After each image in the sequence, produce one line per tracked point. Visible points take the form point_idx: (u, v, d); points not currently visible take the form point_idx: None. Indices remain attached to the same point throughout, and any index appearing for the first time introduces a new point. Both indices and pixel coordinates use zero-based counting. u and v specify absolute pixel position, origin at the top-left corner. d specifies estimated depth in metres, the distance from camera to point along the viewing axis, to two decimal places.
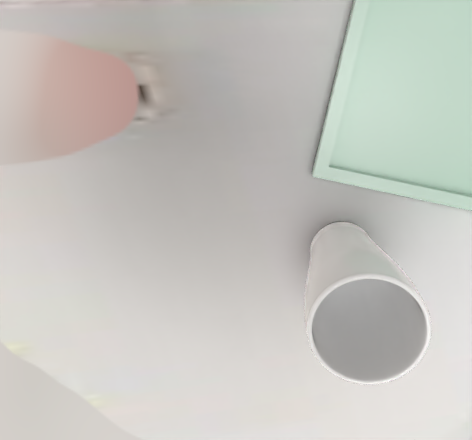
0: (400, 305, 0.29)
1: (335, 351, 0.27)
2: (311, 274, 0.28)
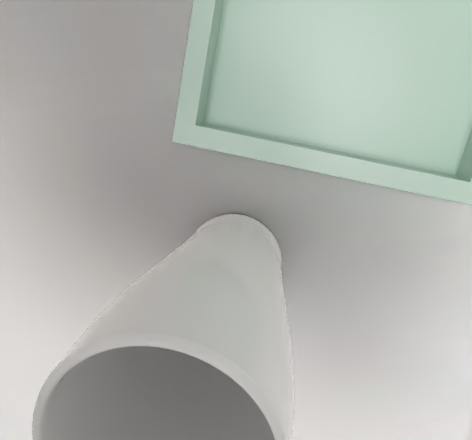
0: None
1: None
2: None
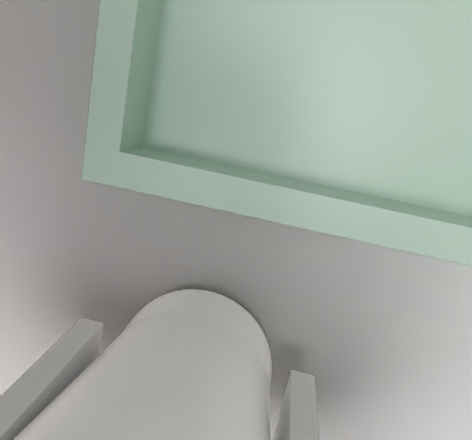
0: None
1: None
2: None
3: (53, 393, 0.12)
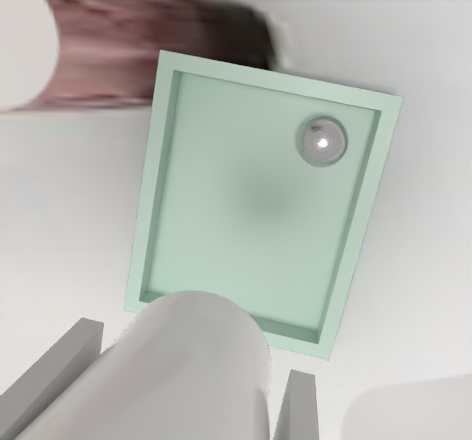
0: None
1: None
2: None
3: (53, 393, 0.12)
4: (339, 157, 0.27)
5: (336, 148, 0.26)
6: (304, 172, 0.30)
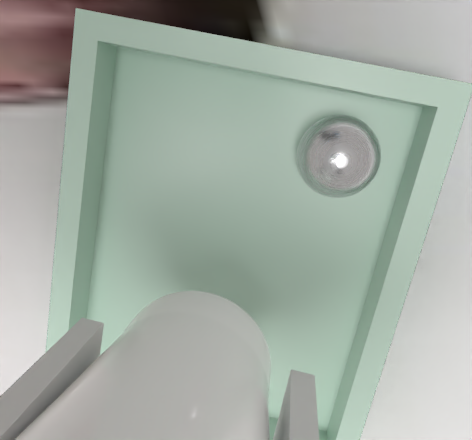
0: None
1: None
2: None
3: (53, 393, 0.12)
4: (366, 183, 0.16)
5: (363, 169, 0.16)
6: (308, 202, 0.19)
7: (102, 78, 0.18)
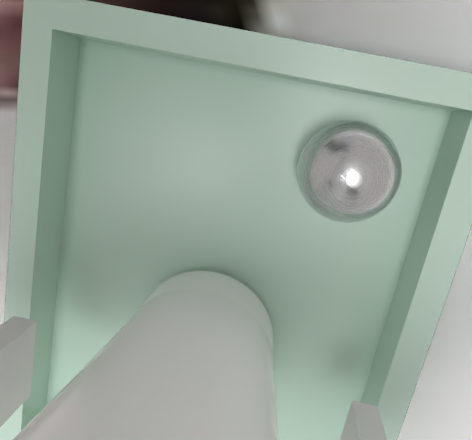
0: None
1: None
2: None
3: None
4: (383, 205, 0.13)
5: (381, 190, 0.13)
6: (311, 224, 0.16)
7: (61, 75, 0.15)
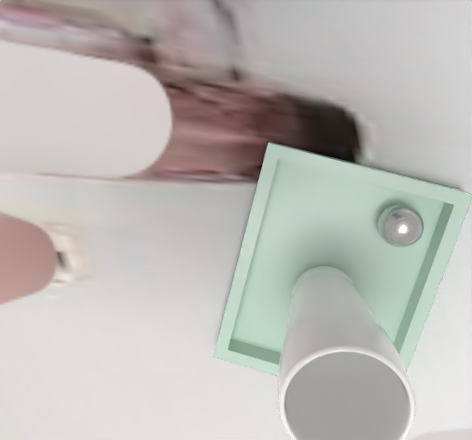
0: (383, 370, 0.27)
1: (309, 420, 0.25)
2: (288, 332, 0.26)
3: None
4: (416, 241, 0.32)
5: (416, 235, 0.31)
6: (379, 247, 0.35)
7: (273, 176, 0.34)
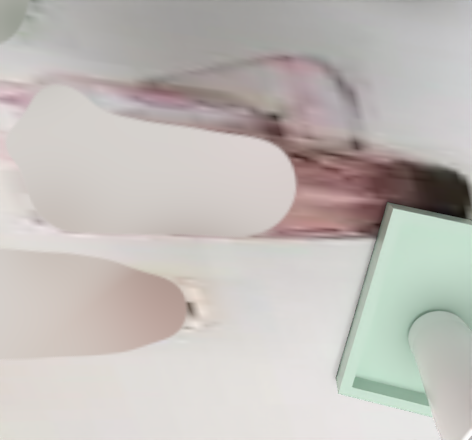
0: None
1: None
2: (442, 389, 0.30)
3: None
4: None
5: None
6: None
7: None
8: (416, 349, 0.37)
